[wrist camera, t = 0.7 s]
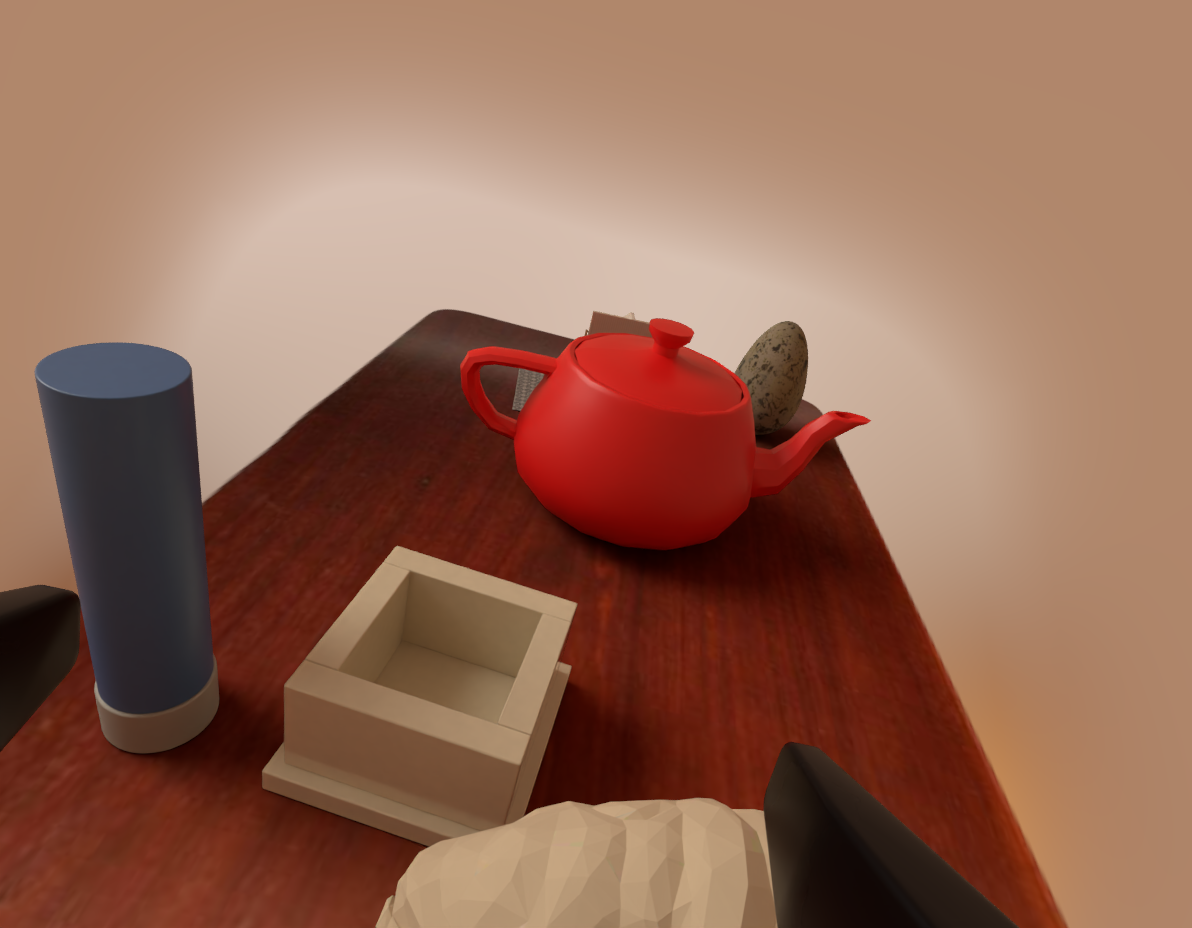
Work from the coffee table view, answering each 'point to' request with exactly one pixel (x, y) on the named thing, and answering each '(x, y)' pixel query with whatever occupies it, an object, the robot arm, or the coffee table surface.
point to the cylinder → (135, 535)
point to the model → (596, 871)
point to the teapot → (642, 437)
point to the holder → (426, 702)
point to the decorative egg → (775, 375)
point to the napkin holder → (598, 325)
